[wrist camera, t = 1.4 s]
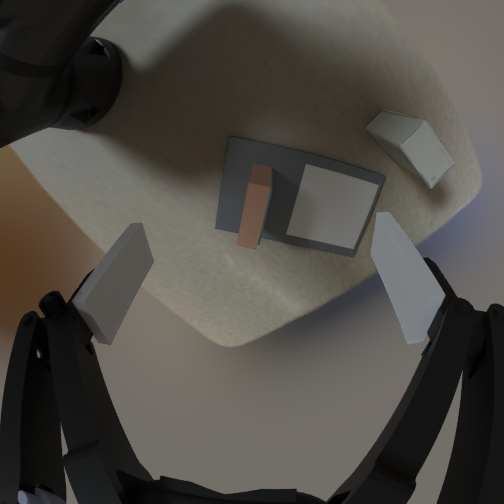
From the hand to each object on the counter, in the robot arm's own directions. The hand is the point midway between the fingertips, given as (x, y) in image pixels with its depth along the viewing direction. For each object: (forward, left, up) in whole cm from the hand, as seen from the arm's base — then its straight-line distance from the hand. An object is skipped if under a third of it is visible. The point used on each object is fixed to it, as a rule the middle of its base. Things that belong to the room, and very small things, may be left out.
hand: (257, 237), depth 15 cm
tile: (0, -6, -23) cm, 24 cm away
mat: (+6, -6, -23) cm, 25 cm away
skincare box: (+15, +7, -24) cm, 29 cm away
